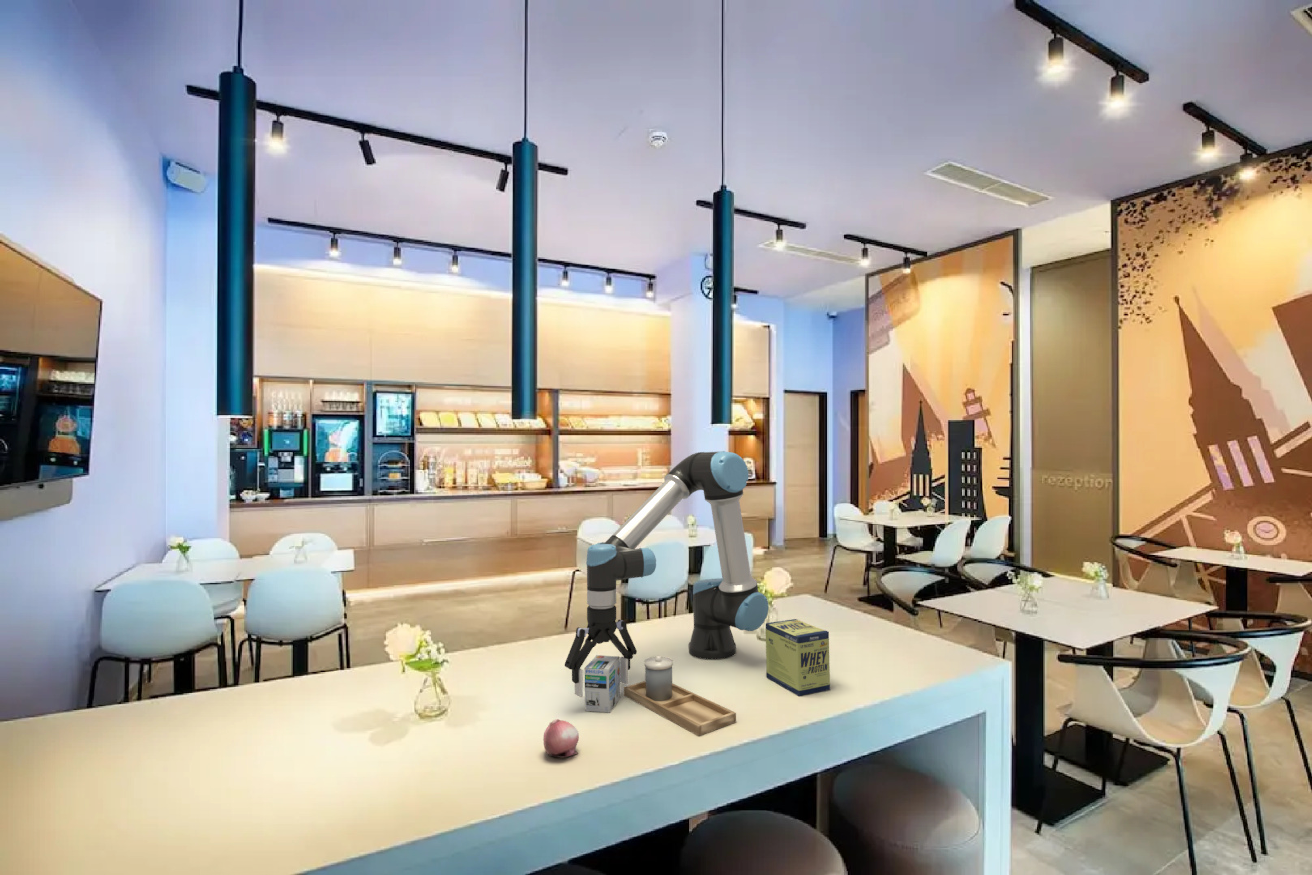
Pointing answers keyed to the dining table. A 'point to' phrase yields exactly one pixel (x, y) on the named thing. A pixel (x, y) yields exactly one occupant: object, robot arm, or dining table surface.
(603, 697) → the light bulb box
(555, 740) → the onion
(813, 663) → the protein box
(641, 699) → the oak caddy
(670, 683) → the slate jar
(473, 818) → the dining table surface
